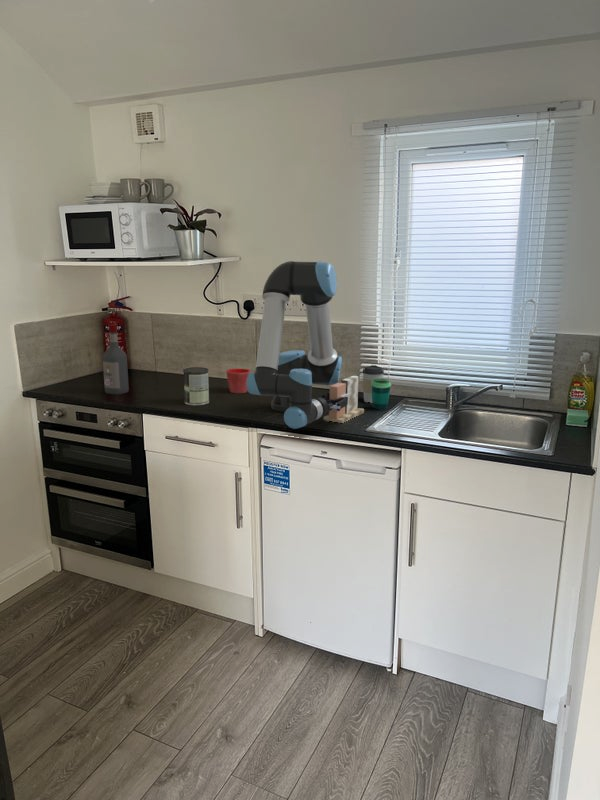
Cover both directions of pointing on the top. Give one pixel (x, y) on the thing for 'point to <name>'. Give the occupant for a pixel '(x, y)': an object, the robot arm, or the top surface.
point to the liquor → (115, 366)
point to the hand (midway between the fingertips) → (343, 395)
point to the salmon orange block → (335, 393)
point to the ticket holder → (351, 408)
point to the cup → (380, 393)
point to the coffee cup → (370, 380)
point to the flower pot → (237, 380)
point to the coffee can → (196, 386)
